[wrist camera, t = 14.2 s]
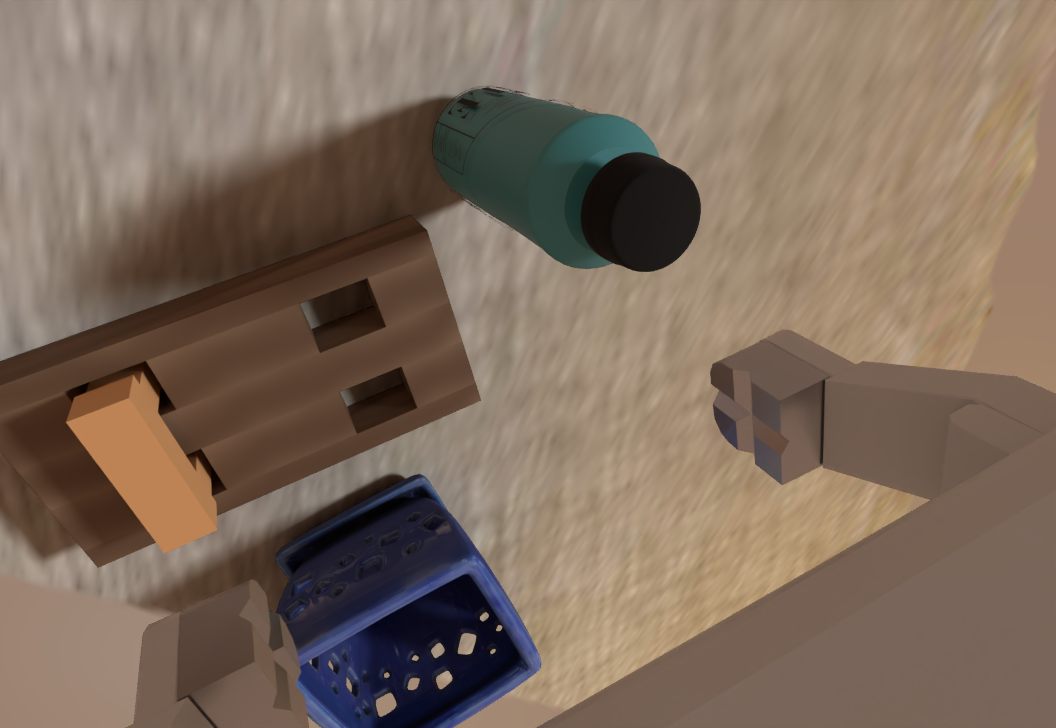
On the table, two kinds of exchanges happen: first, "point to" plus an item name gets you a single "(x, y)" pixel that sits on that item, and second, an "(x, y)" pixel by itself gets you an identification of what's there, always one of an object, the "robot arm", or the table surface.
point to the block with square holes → (247, 380)
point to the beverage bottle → (567, 179)
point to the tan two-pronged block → (145, 456)
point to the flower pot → (398, 615)
